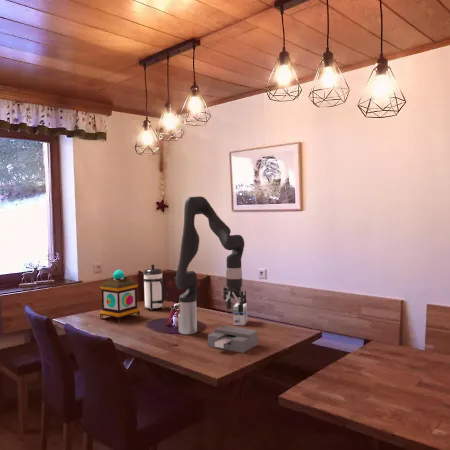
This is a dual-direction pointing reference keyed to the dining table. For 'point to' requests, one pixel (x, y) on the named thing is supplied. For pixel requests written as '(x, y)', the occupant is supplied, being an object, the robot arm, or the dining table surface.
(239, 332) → the slot box
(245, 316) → the light bulb box
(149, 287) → the coffee press
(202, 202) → the robot arm
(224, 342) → the pale flat bar
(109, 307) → the decorative lantern
